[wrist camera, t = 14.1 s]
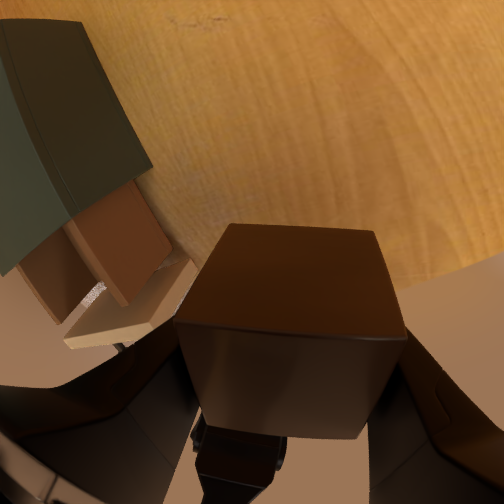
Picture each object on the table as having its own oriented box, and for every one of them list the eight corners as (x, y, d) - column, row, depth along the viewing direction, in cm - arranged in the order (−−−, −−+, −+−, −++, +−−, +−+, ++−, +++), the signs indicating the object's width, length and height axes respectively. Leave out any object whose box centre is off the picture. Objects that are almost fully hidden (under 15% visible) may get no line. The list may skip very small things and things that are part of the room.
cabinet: (153, 166, 20) (70, 218, 12) (65, 226, 25) (2, 277, 17) (81, 21, 14) (-9, 19, 7) (9, 109, 19) (-61, 134, 11)
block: (374, 229, 8) (410, 337, 5) (352, 335, 10) (357, 440, 7) (229, 221, 9) (170, 319, 5) (238, 327, 11) (206, 425, 8)
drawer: (224, 310, 25) (197, 379, 18) (134, 330, 29) (101, 382, 23) (111, 116, 18) (36, 139, 12) (39, 185, 22) (-18, 219, 16)
